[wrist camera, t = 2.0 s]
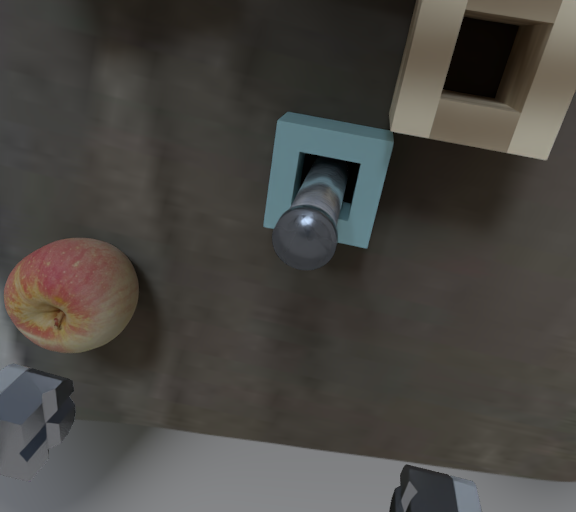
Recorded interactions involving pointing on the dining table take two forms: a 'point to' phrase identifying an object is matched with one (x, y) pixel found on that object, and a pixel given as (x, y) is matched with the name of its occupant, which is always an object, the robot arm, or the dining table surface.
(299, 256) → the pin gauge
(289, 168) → the stand
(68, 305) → the apple
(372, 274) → the dining table surface
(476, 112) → the beech block
